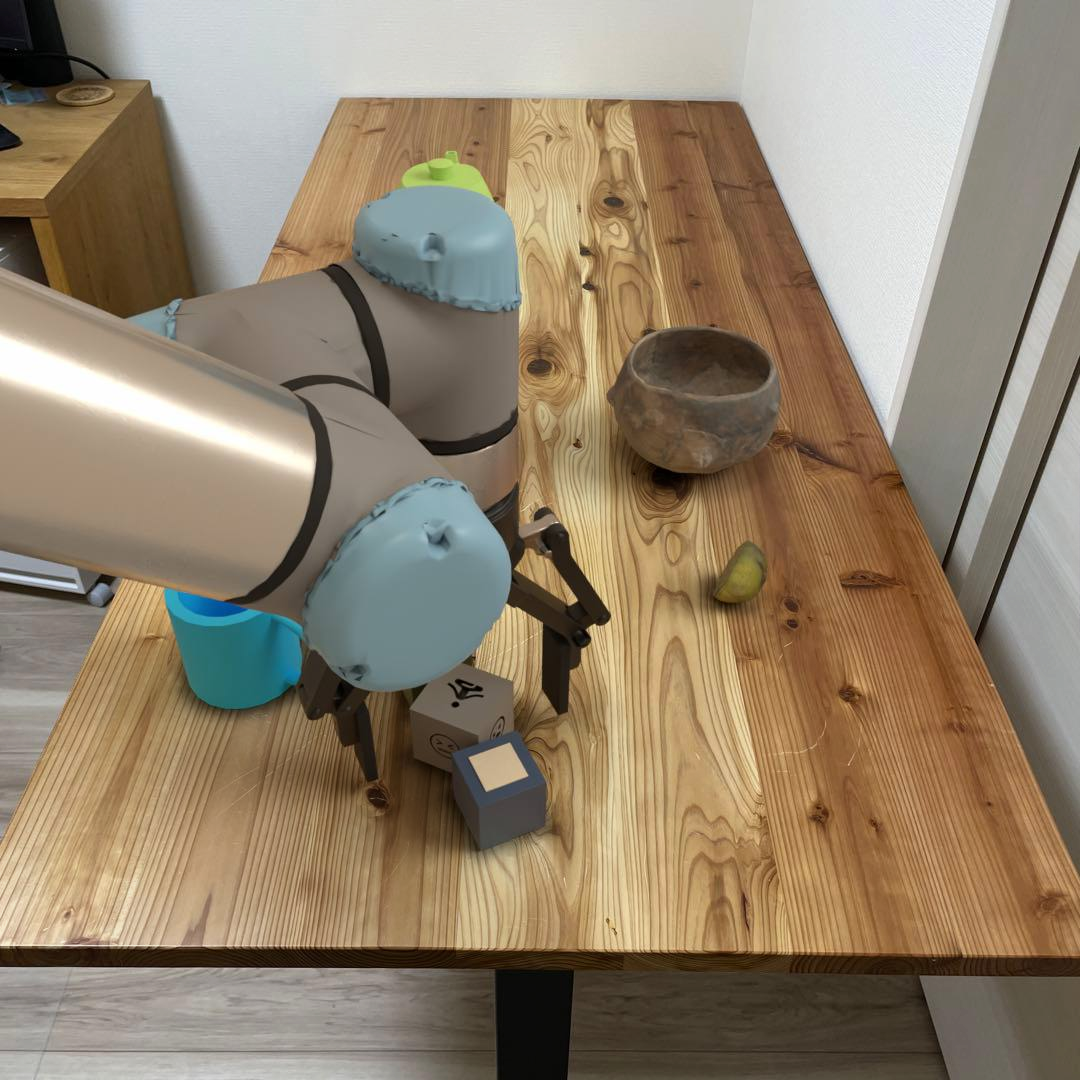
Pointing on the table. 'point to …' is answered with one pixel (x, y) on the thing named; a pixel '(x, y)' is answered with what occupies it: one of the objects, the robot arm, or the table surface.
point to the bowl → (696, 398)
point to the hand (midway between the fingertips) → (463, 732)
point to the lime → (742, 575)
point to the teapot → (446, 175)
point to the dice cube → (460, 713)
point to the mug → (234, 650)
